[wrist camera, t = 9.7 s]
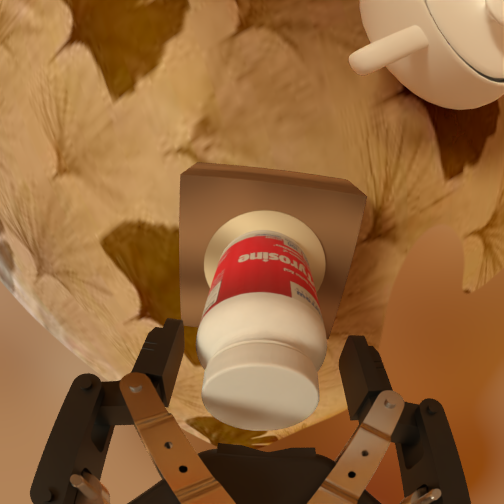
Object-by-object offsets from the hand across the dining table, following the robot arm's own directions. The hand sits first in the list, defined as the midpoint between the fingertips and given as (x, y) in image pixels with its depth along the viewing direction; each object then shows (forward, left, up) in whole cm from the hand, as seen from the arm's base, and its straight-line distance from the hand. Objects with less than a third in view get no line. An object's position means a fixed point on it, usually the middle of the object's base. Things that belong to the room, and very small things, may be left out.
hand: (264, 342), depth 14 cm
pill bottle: (0, 0, -8) cm, 8 cm away
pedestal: (0, 0, -13) cm, 13 cm away
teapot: (-21, +12, -13) cm, 27 cm away
